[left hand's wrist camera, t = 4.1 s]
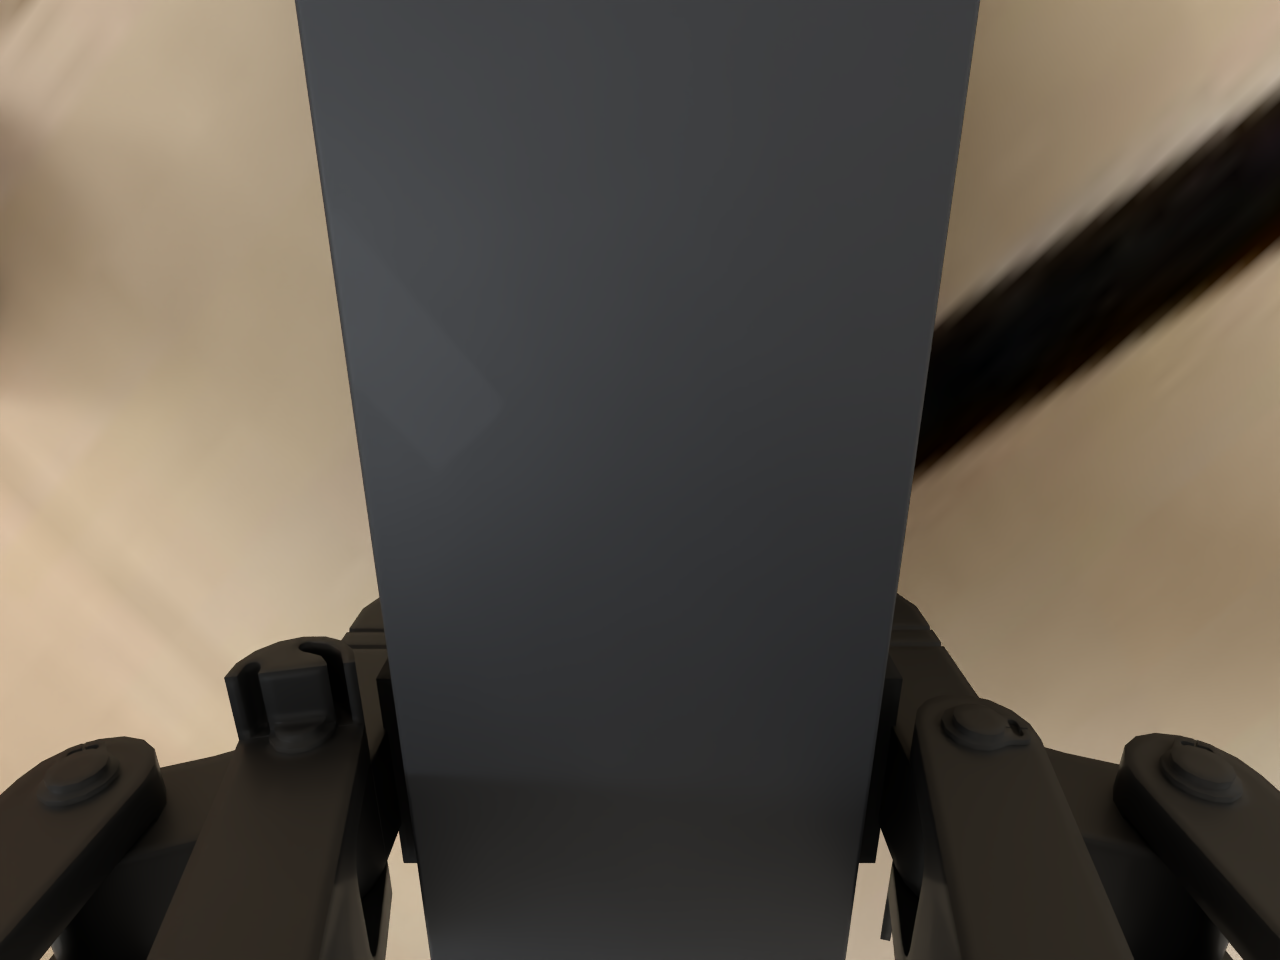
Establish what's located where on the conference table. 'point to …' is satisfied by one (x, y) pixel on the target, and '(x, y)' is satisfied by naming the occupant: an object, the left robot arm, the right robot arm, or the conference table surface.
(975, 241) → the conference table surface
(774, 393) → the bar
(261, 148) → the conference table surface
